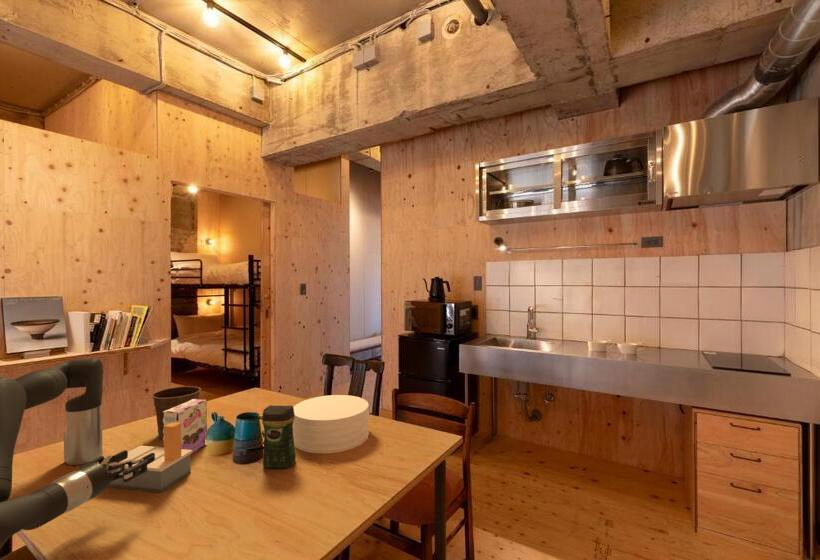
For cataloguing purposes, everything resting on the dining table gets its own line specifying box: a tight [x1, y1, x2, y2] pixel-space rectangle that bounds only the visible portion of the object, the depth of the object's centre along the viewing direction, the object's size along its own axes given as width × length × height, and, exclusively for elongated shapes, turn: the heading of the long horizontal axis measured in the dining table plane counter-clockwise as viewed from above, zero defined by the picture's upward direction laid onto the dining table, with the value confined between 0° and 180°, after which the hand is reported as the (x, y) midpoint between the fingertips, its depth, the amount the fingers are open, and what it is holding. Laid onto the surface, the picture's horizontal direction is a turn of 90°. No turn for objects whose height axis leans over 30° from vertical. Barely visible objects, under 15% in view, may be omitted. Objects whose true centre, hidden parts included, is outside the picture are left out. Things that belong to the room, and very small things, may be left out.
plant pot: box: [151, 385, 202, 440], centre depth 150 cm, size 16×16×16 cm
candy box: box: [162, 398, 208, 455], centre depth 133 cm, size 14×6×16 cm, turn 168°
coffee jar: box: [261, 405, 296, 469], centre depth 124 cm, size 10×8×19 cm
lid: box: [121, 422, 194, 472], centre depth 115 cm, size 19×12×11 cm, turn 79°
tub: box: [107, 454, 192, 493], centre depth 115 cm, size 18×11×6 cm, turn 79°
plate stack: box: [293, 394, 370, 454], centre depth 145 cm, size 28×28×12 cm
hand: (140, 455), depth 103 cm, fingers open, 8 cm apart
